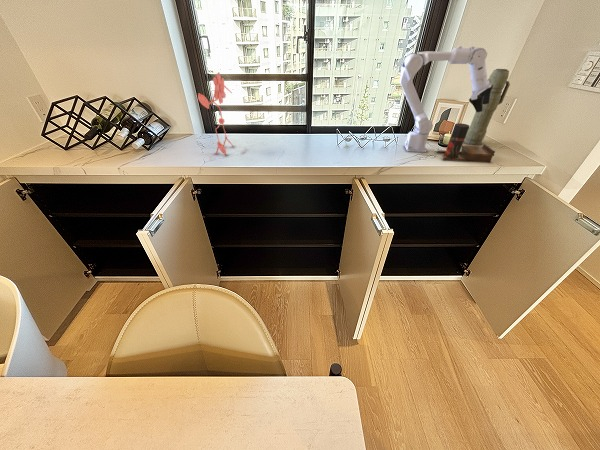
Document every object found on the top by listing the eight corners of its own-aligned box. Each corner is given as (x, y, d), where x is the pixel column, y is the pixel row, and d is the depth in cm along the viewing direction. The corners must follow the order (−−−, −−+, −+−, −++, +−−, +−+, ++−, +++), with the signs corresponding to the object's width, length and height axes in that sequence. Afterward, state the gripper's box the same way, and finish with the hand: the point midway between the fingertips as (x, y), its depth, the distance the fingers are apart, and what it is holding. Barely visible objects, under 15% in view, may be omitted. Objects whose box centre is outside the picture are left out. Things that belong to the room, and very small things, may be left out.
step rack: (443, 160, 123) (447, 149, 120) (437, 152, 131) (440, 141, 128) (490, 162, 120) (496, 151, 117) (481, 154, 129) (486, 143, 125)
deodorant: (458, 159, 124) (471, 127, 115) (445, 158, 125) (457, 126, 116) (455, 154, 128) (467, 123, 119) (442, 153, 129) (453, 123, 120)
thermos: (487, 145, 139) (520, 70, 118) (464, 145, 139) (494, 70, 118) (479, 140, 146) (509, 68, 125) (457, 139, 146) (484, 68, 125)
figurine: (207, 160, 123) (188, 76, 102) (227, 142, 143) (214, 69, 122) (238, 162, 121) (225, 77, 100) (253, 143, 142) (245, 69, 121)
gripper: (482, 82, 107) (486, 113, 113) (496, 67, 112) (499, 98, 118) (464, 87, 112) (468, 116, 119) (477, 72, 118) (481, 101, 124)
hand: (482, 107), depth 119 cm, fingers open, 7 cm apart
